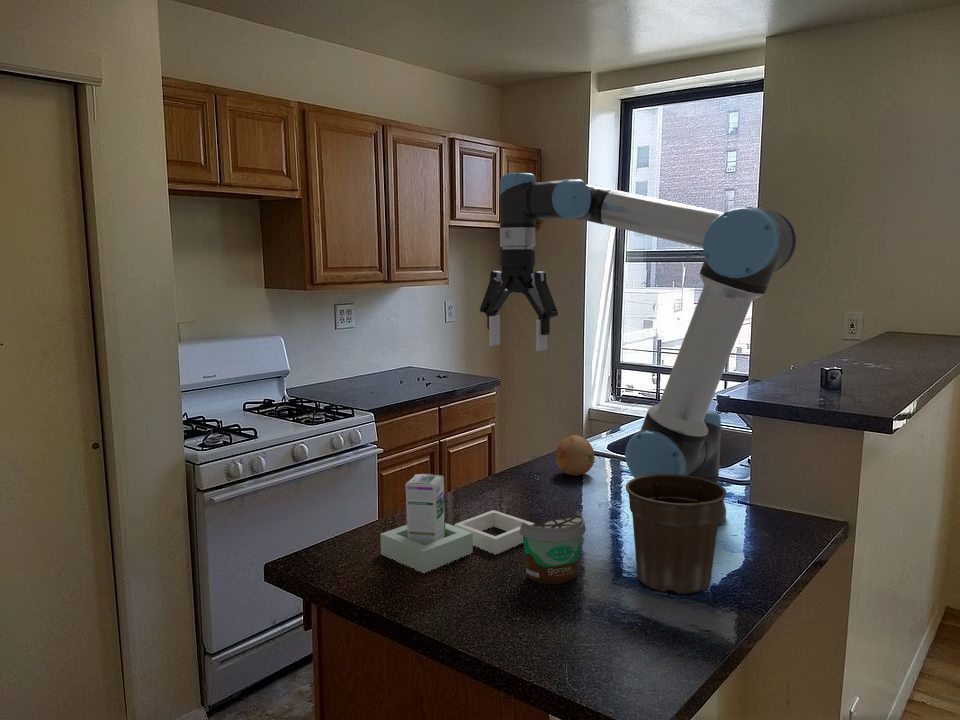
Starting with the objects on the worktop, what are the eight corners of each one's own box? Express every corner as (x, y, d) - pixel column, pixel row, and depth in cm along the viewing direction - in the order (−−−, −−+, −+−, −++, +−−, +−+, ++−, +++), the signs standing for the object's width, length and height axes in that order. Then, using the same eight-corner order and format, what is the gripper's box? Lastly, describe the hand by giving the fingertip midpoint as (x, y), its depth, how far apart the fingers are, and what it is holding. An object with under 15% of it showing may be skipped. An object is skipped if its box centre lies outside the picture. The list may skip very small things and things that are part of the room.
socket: (472, 553, 135) (472, 532, 135) (423, 573, 127) (423, 551, 126) (429, 536, 144) (429, 516, 143) (380, 554, 135) (380, 533, 135)
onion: (584, 483, 176) (585, 442, 175) (548, 476, 182) (548, 437, 180) (601, 473, 184) (601, 434, 183) (565, 467, 190) (566, 429, 188)
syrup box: (437, 561, 132) (436, 483, 130) (406, 558, 133) (405, 481, 131) (446, 549, 137) (445, 474, 135) (416, 546, 139) (414, 472, 137)
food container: (538, 593, 119) (538, 534, 118) (519, 578, 125) (519, 522, 123) (599, 577, 125) (600, 521, 124) (578, 564, 130) (579, 510, 129)
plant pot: (603, 574, 126) (605, 484, 124) (665, 551, 136) (668, 467, 133) (679, 610, 113) (682, 510, 111) (742, 583, 123) (746, 490, 120)
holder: (534, 538, 142) (534, 523, 142) (495, 554, 135) (495, 539, 134) (493, 524, 150) (493, 510, 150) (454, 538, 142) (454, 524, 142)
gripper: (463, 249, 161) (464, 344, 164) (552, 247, 144) (551, 354, 147) (487, 249, 167) (488, 341, 170) (575, 247, 149) (574, 350, 152)
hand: (517, 347), depth 158 cm, fingers open, 13 cm apart
